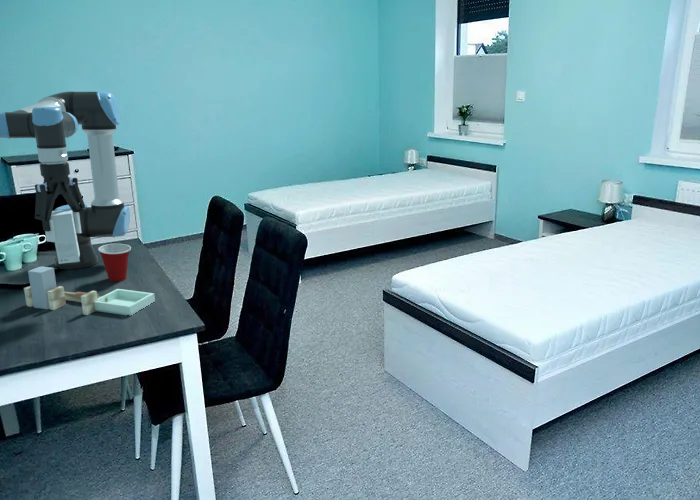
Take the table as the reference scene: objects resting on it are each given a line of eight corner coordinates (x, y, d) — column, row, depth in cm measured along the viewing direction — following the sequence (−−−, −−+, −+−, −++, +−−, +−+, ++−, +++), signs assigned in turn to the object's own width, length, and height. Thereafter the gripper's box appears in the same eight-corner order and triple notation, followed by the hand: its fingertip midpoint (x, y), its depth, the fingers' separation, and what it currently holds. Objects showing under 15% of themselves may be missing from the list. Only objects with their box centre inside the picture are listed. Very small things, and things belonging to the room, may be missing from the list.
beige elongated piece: (48, 296, 184) (46, 279, 182) (108, 304, 177) (106, 286, 176) (26, 306, 175) (23, 288, 174) (87, 315, 169) (85, 296, 167)
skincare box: (79, 262, 166) (72, 213, 162) (57, 264, 164) (49, 215, 160) (79, 254, 174) (73, 207, 169) (58, 256, 171) (50, 209, 167)
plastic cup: (120, 285, 194) (116, 252, 191) (95, 282, 197) (91, 249, 194) (140, 276, 204) (137, 244, 201) (116, 272, 207) (113, 241, 204)
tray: (118, 297, 184) (117, 288, 183) (155, 302, 180) (154, 293, 179) (92, 310, 173) (91, 301, 172) (131, 316, 169) (130, 306, 168)
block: (46, 301, 179) (40, 266, 176) (59, 303, 178) (53, 267, 174) (33, 307, 175) (27, 271, 171) (46, 309, 173) (41, 272, 170)
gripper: (33, 168, 149) (45, 248, 156) (92, 158, 170) (100, 229, 176) (11, 166, 151) (24, 245, 158) (72, 156, 172) (81, 227, 178)
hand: (64, 236), depth 167 cm, fingers closed on skincare box, 9 cm apart
